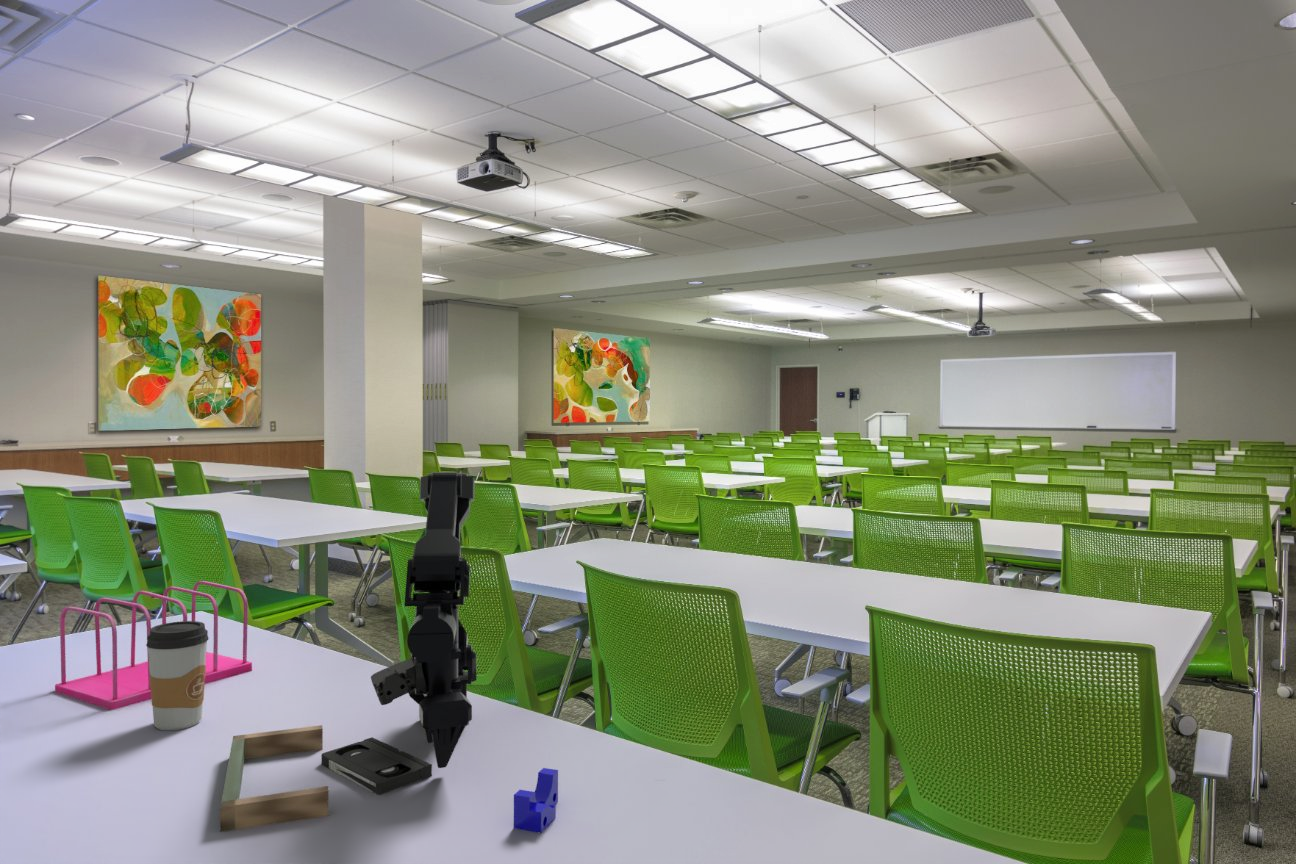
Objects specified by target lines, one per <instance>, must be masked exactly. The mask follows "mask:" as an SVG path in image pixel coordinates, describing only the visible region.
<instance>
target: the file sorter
mask: <svg viewBox="0 0 1296 864" xmlns="http://www.w3.org/2000/svg"><path fill="white" fill-rule="evenodd" d="M200 585H205V586H209V587H215V588H219V589H220V588H221V589H224V590H229V591H234V592H237V593H238V594H239V595H240V596H241V599H242V604H243V624H242V626H243V627H242V628H243V629H242V634H243V635H242V636H243V637H242V659H239V658H235V657H232V656H231V657H230V656H226V655H223V654H219V653H218V650H219V649H218V647H219V645H218V643H219V642H218V641H219V639H218V638H219V632H218V631H219V629H218V628H219V626H218V624H219V614H218V613H219V611H218V604H217V601H216V599H215V598H214V596H212V595H211V594H209V593H205V592H201V591H197V589H198V587H199V586H200ZM171 590H172V591H178V592H181V593H182V592H183V593H186V594H191V595H192V596H191V621H196V605H197V604H196V601H197V600H196V599H197V596H199V597H203V598H206V599H208V600H209V601H210V602H211V605H212V609H213V649H212V650H213V651H212V652H213V653H212V652H208V651H206V662H205V666H206V671H205V685H207V684H209V683H214V682H217V681H220V680H224V679H227V678H230V677H235V676H238V675H241V674H245V673H249V672H252V671H253V663H252V661H248V660H247V659H248V658H247V657H248V656H247V655H248V614H249V613H248V608H249V607H248V598H247V596H246V593H244V592H245V591H243V590H242V589H241V588H238V587H233V586H229V585H224V584H221V583H216V582H211V581H205V580H200V581H197V582H196V583H195V584H194V585H193V587H192V589H188V588H182V587H180V586H179V587H178V586H168V587H167V588H165V590H164V592H163V594H158V593H154V592H150V591H147V590H139V591H137V592H136V593H135V594H134V596H133V599H132V602H130V601H125V600H120V599H115V598H111V597H102V598H99V599H97V601H96V603H95V604H94V605H95V606H94V610H90V609H86V608H81V607H77V606H66V607H65V608H63V609H62V610H61V613H60V618H59V619H60V620H59V622H60V623H59V631H60V632H59V633H60V677H61V681H60V682H59V683H56V684H55V685H54V692H56V693H59V694H63V695H66V696H69V697H70V698H71V697H72V698H74V699H78V700H81V701H83V702H86V703H89V704H93V705H95V706H99V707H102V708H105V709H107V710H117V709H120V708H124V707H127V706H131V705H135V704H138V703H141V702H145V701H146V702H147V701H149V700H151V689H150V677H149V673H150V669H149V656H148V647H147V646H146V651H147V652H146V654H147V661H143V662H140V663H136V661H135V660H136V631H137V630H136V629H137V627H136V626H137V609H140V611H142V612H143V614H144V617H145V623H146V638H147V637H148V636H149V635H150V629H151V628H152V620H151V616H150V613H149V610H148V609H147V607H145V605H142V604H141V603H137V602H138V598H139V596H141V595H144V596H149V597H152V598H155V599H160V600H162V602H161V603H162V606H161V608H162V609H161V611H162V614H161V623H162V624H166V623H167V602H170V603H173V604H176V605H178V606H179V607H180V610H181V613H182V621H188V613H187V609H186V606H185V605H184V603H183V602H182V601H180V600H179V599H175V598H173V597H169V596H168V593H169V591H171ZM103 602H107V603H112V604H117V605H124V606H128V607H131V631H130V634H131V636H130V637H131V639H130V665H128V666H124V667H119V668H118V632H117V626H116V625H117V624H116V622H115V620H114V618H113V617H112V616H111V615H110V614H107V613H104V612H100V606H101V604H102V603H103ZM69 611H73V612H77V613H82V614H88V615H91V616H94V627H95V628H94V629H95V631H94V632H95V635H94V636H95V651H96V652H95V654H96V655H95V658H96V660H95V661H96V673H95V674H91V675H87V676H83V677H79V678H74V679H70V680H68V681H67V673H66V671H67V670H66V669H67V668H66V667H67V665H66V662H67V661H66V631H65V630H66V623H65V622H66V621H65V620H66V615H67V612H69ZM100 618H105V619H106V620H107V621H108V622H109V624H110V627H111V633H112V634H111V638H112V641H111V642H112V644H111V645H112V649H111V651H112V655H111V656H112V669H111V670H108V671H103V672H102V661H101V660H102V658H101V657H102V655H101V653H102V652H101V631H100Z"/></svg>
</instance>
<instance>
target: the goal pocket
mask: <svg viewBox="0 0 1296 864" xmlns="http://www.w3.org/2000/svg"><path fill="white" fill-rule="evenodd" d="M323 729H324V728H323V725H322V724H321V725H313V726H305V727H304V726H303V727H296V728H288V729H287V728H286V729H281V730H272V731H263V732H262V731H261V732H257V733H256V732H255V733H247V734H246V733H245V734H239V735H233V736H232V740H231V747H230V752H229V756H228V763H227V768H226V774H225V779H224V785H223V791H222V797H221V802H220V806H219V810H220V812H219V814H220V815H219V817H220V818H219V819H220V820H219V822H220V825H219V826H220V830H219V831H220V833H223V832H230V831H236V830H243V829H248V828H256V827H262V826H263V827H264V826H269V825H276V824H283V823H291V822H296V821H302V820H309V819H315V818H322V817H328V816H329V786H327V785H326V786H321V787H320V786H319V787H313V788H306V789H299V790H298V789H297V790H292V791H286V792H279V793H271V794H265V795H258V796H252V797H250V796H249V797H245V798H240V797H241V796H240V795H241V790H242V789H241V788H242V782H243V774H244V773H243V772H244V768H245V761H246V759H255V758H264V757H271V756H280V755H287V754H289V755H290V754H296V753H305V752H313V751H319V750H320V751H321V750H323V747H324V746H323V743H324V742H323V740H324V739H323V733H324V731H323Z"/></svg>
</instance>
